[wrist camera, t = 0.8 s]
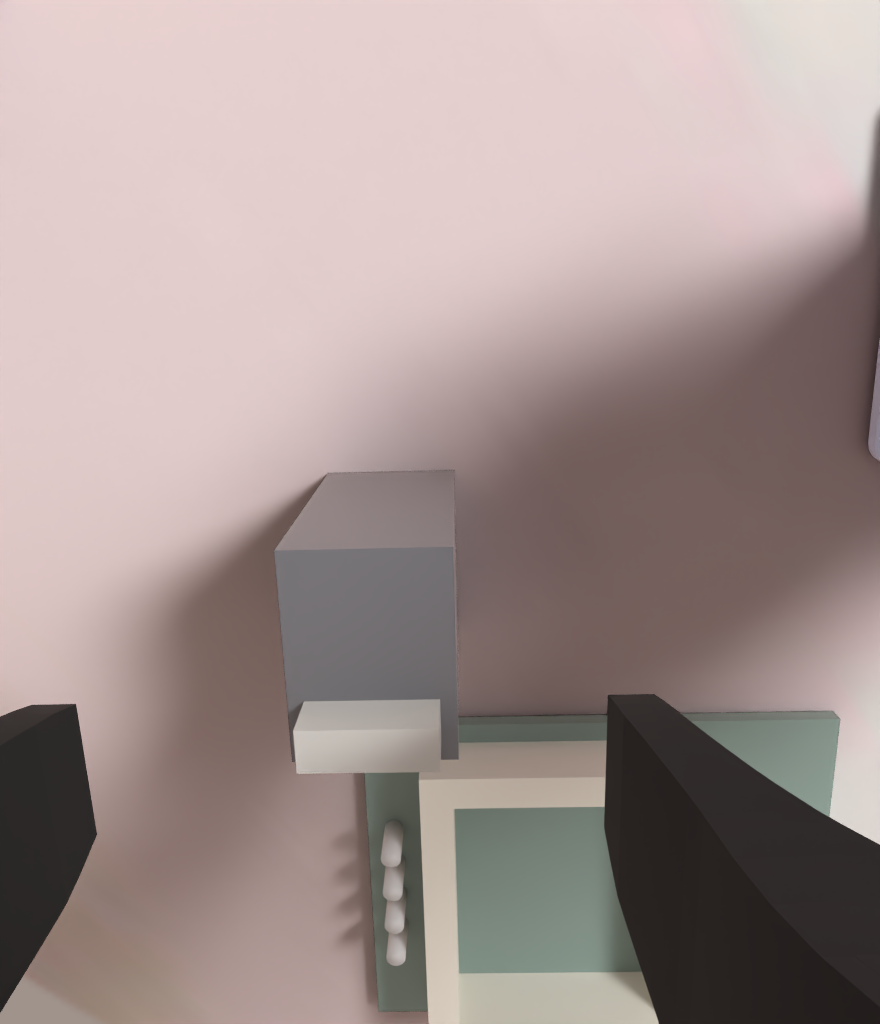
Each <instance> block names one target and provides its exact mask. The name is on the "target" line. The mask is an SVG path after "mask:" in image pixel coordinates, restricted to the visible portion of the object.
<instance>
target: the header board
mask: <svg viewBox="0 0 880 1024" xmlns="http://www.w3.org/2000/svg"><path fill="white" fill-rule="evenodd" d="M681 714H682V715H683V716H684V717H686V718H687V719H688V720H690V721H691V722H692V723H693V724H695V725H696V726H697V727H699V728H700V729H701V730H703V731H704V732H705V733H706V734H708V735H709V736H710V737H712V738H713V739H714V740H716V741H717V742H718V743H720V744H721V745H722V746H724V747H725V748H726V749H728V750H729V751H730V752H732V753H733V754H735V755H736V756H737V757H739V758H740V759H741V760H743V761H744V762H746V763H747V764H748V765H750V766H751V767H753V768H754V769H755V770H757V771H758V772H760V773H761V774H763V775H764V776H766V777H767V778H768V779H770V780H771V781H773V782H774V783H776V784H777V785H779V786H780V787H782V788H784V789H785V790H787V791H788V792H790V793H791V794H793V795H794V796H796V797H798V798H799V799H801V800H802V801H804V802H805V803H807V804H809V805H810V806H812V807H813V808H815V809H816V810H818V811H820V812H821V813H823V814H825V815H826V816H828V817H829V814H830V806H831V797H832V788H833V779H834V770H835V761H836V752H837V743H838V734H839V726H840V718H839V717H838V716H837V715H836V714H835V713H834V711H803V712H742V713H681ZM458 719H459V760H441V767H440V772H397V773H364V774H365V791H366V808H367V825H368V841H369V858H370V875H371V891H372V908H373V925H374V942H375V958H376V975H377V992H378V1008H379V1012H400V1011H428V1024H659V1022H658V1019H657V1016H656V1013H655V1010H654V1007H653V1004H652V1001H651V998H650V995H649V992H648V989H647V986H646V983H645V980H644V977H643V974H642V971H641V968H640V965H639V962H638V959H637V956H636V953H635V949H634V946H633V943H632V940H631V937H630V934H629V931H628V928H627V925H626V922H625V919H624V916H623V912H622V909H621V906H620V903H619V900H618V896H617V891H616V887H615V882H614V877H613V872H612V867H611V862H610V857H609V851H608V846H607V841H606V835H605V830H604V813H605V778H606V744H607V715H560V716H499V717H458Z"/></svg>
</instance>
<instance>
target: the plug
mask: <svg viewBox="0 0 880 1024" xmlns="http://www.w3.org/2000/svg"><path fill="white" fill-rule="evenodd" d="M274 555H275V567H276V578H277V590H278V602H279V613H280V625H281V637H282V649H283V660H284V672H285V684H286V695H287V707H288V719H289V730H290V742H291V754H292V762H296V772H297V774H326V773H397V772H440V767H441V760H459V719H458V607H457V566H456V525H455V483H454V470H433V471H391V472H349V473H328V474H327V475H326V477H325V478H324V480H323V481H322V483H321V484H320V485H319V487H318V488H317V490H316V491H315V493H314V494H313V495H312V497H311V498H310V500H309V501H308V503H307V504H306V505H305V507H304V508H303V510H302V511H301V513H300V514H299V516H298V517H297V518H296V520H295V521H294V523H293V524H292V526H291V527H290V528H289V530H288V531H287V533H286V534H285V536H284V537H283V538H282V540H281V541H280V543H279V544H278V546H277V547H276V549H275V550H274Z"/></svg>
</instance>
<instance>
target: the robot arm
mask: <svg viewBox="0 0 880 1024" xmlns="http://www.w3.org/2000/svg"><path fill="white" fill-rule="evenodd" d="M868 446H869V451H870V453H871V454H872V456H873V457H874V458H876V459H877V460H879V461H880V340H879V349H878V358H877V366H876V375H875V384H874V393H873V402H872V411H871V420H870V429H869V438H868ZM604 830H605V835H606V841H607V846H608V851H609V857H610V862H611V867H612V872H613V877H614V882H615V887H616V891H617V896H618V900H619V903H620V906H621V909H622V912H623V916H624V919H625V922H626V925H627V928H628V931H629V934H630V937H631V940H632V943H633V946H634V949H635V953H636V956H637V959H638V962H639V965H640V968H641V971H642V974H643V977H644V980H645V983H646V986H647V989H648V992H649V995H650V998H651V1001H652V1004H653V1007H654V1010H655V1013H656V1016H657V1019H658V1022H659V1024H880V845H879V844H877V843H875V842H873V841H872V840H870V839H868V838H866V837H864V836H862V835H860V834H859V833H857V832H855V831H853V830H851V829H849V828H847V827H846V826H844V825H842V824H840V823H838V822H837V821H835V820H833V819H832V818H830V817H828V816H826V815H825V814H823V813H821V812H820V811H818V810H816V809H815V808H813V807H812V806H810V805H809V804H807V803H805V802H804V801H802V800H801V799H799V798H798V797H796V796H794V795H793V794H791V793H790V792H788V791H787V790H785V789H784V788H782V787H780V786H779V785H777V784H776V783H774V782H773V781H771V780H770V779H768V778H767V777H766V776H764V775H763V774H761V773H760V772H758V771H757V770H755V769H754V768H753V767H751V766H750V765H748V764H747V763H746V762H744V761H743V760H741V759H740V758H739V757H737V756H736V755H735V754H733V753H732V752H730V751H729V750H728V749H726V748H725V747H724V746H722V745H721V744H720V743H718V742H717V741H716V740H714V739H713V738H712V737H710V736H709V735H708V734H706V733H705V732H704V731H703V730H701V729H700V728H699V727H697V726H696V725H695V724H693V723H692V722H691V721H690V720H688V719H687V718H686V717H684V716H683V715H682V714H681V713H679V712H678V711H677V710H675V709H674V708H673V707H671V706H670V705H669V704H667V703H666V702H665V701H663V700H662V699H660V698H659V697H657V696H656V695H654V694H641V695H608V709H607V744H606V778H605V813H604ZM96 835H97V832H96V826H95V820H94V813H93V807H92V801H91V795H90V789H89V782H88V776H87V770H86V764H85V758H84V751H83V745H82V739H81V733H80V727H79V720H78V714H77V708H76V704H59V705H30V706H27V707H24V708H22V709H19V710H16V711H13V712H11V713H8V714H6V715H3V716H1V717H0V1012H1V1011H2V1009H3V1007H4V1006H5V1004H6V1003H7V1001H8V999H9V998H10V996H11V994H12V993H13V991H14V990H15V988H16V986H17V985H18V983H19V982H20V980H21V978H22V977H23V975H24V973H25V972H26V970H27V969H28V967H29V965H30V964H31V962H32V961H33V959H34V957H35V956H36V954H37V952H38V951H39V949H40V947H41V946H42V944H43V942H44V941H45V939H46V937H47V936H48V934H49V932H50V931H51V929H52V927H53V926H54V924H55V922H56V921H57V919H58V917H59V916H60V914H61V912H62V911H63V909H64V907H65V905H66V904H67V902H68V899H69V897H70V895H71V893H72V891H73V889H74V886H75V884H76V882H77V880H78V878H79V876H80V873H81V871H82V869H83V866H84V864H85V862H86V859H87V857H88V854H89V852H90V850H91V847H92V845H93V843H94V840H95V838H96Z"/></svg>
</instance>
